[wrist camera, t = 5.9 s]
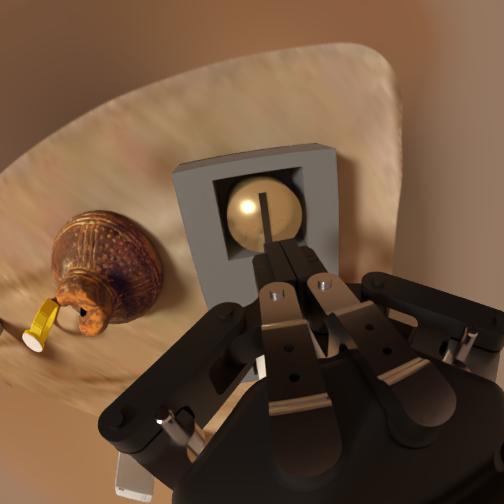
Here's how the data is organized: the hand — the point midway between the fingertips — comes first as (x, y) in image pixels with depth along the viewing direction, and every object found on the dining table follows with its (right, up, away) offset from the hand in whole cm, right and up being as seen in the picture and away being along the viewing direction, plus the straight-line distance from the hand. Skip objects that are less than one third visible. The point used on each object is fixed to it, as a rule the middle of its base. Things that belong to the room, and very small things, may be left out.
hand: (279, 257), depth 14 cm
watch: (-25, -6, +12) cm, 28 cm away
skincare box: (-21, -30, +24) cm, 43 cm away
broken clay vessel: (-15, -1, +10) cm, 19 cm away
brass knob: (-1, +4, +8) cm, 9 cm away
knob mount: (0, -2, +12) cm, 12 cm away
